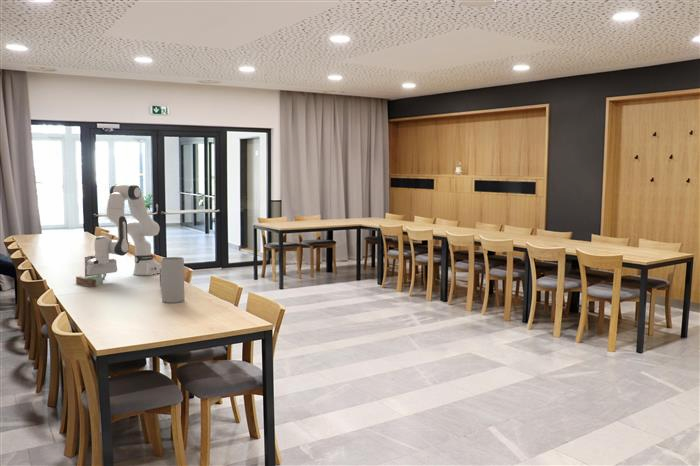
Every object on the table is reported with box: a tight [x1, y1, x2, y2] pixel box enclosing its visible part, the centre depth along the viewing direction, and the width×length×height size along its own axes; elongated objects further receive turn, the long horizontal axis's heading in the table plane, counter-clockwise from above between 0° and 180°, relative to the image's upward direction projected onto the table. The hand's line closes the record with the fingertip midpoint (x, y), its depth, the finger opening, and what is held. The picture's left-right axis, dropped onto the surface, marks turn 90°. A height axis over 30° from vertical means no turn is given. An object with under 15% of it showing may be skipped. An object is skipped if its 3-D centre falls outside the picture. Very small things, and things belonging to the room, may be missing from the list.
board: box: [75, 275, 97, 288], centre depth 396 cm, size 3×20×4 cm, turn 51°
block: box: [86, 275, 104, 286], centre depth 401 cm, size 8×8×5 cm
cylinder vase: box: [160, 256, 185, 304], centre depth 351 cm, size 12×12×25 cm
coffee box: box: [84, 255, 99, 277], centre depth 417 cm, size 9×6×16 cm
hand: (102, 280), depth 405 cm, fingers closed
